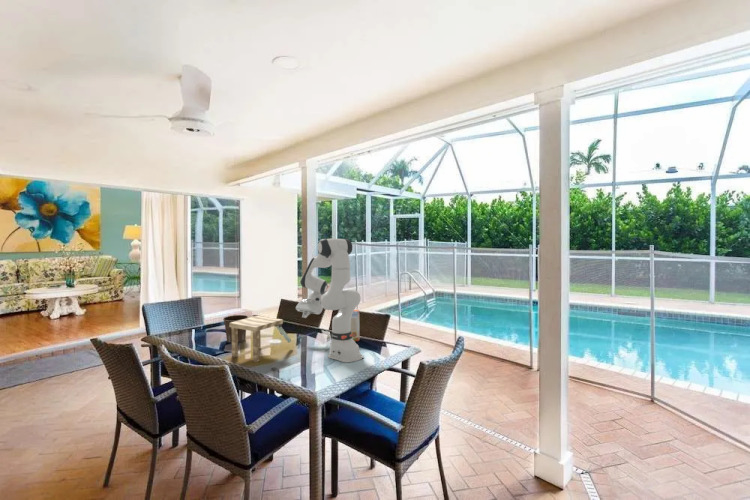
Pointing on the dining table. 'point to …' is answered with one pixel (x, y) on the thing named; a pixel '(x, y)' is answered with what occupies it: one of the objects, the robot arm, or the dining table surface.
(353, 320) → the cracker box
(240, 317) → the plant pot
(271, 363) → the dining table surface
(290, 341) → the folding leg
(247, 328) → the stool
